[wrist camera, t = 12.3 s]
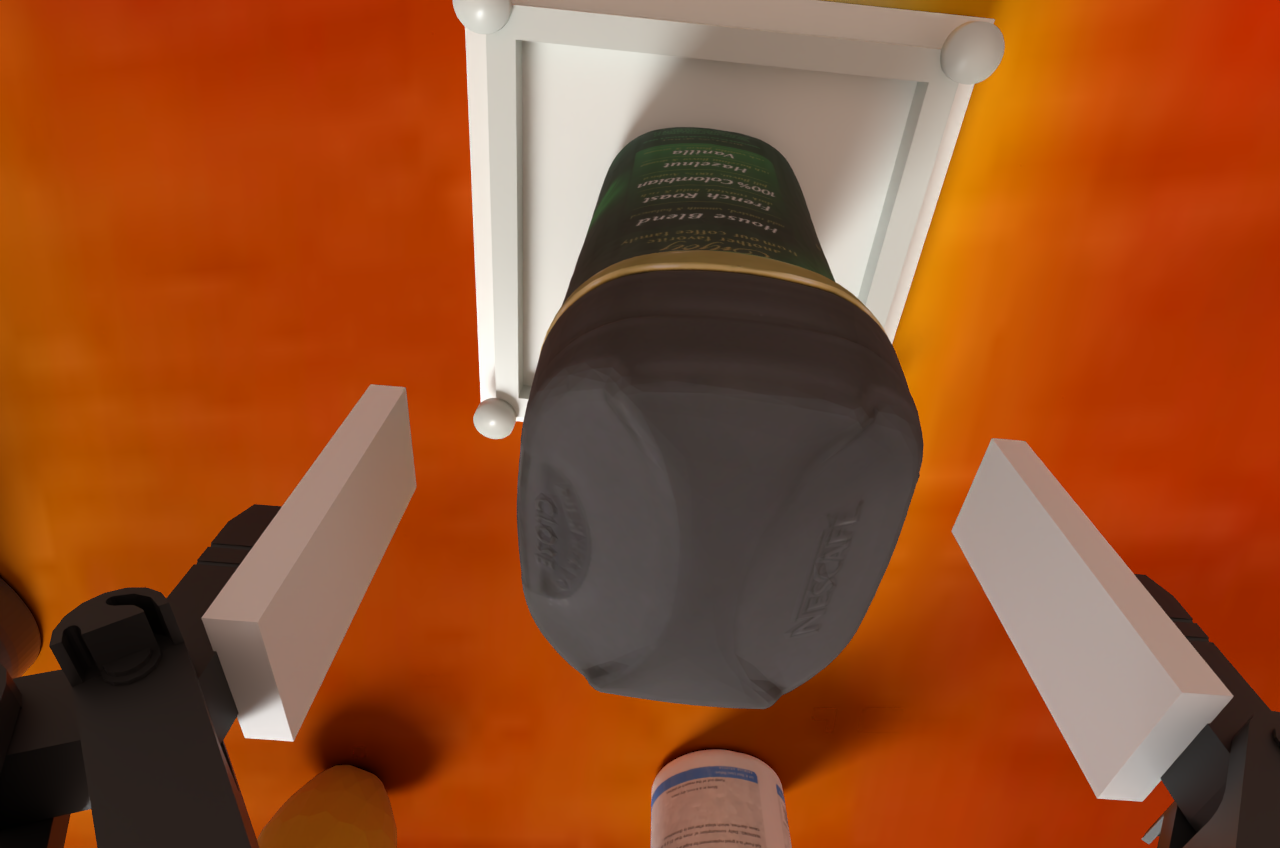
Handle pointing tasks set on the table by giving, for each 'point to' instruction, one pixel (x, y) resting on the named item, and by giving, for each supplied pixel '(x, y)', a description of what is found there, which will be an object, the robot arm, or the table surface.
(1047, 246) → the table surface
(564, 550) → the coffee jar
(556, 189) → the white square tray
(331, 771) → the apple
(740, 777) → the supplement tub
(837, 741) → the table surface
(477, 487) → the table surface
